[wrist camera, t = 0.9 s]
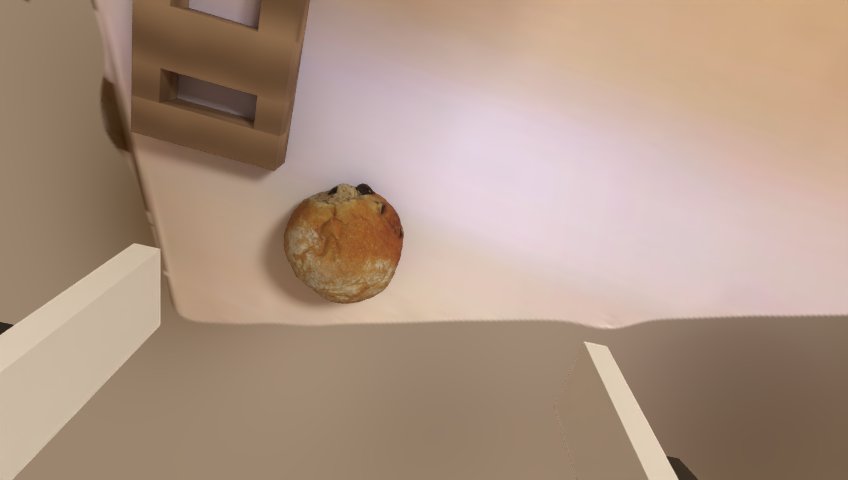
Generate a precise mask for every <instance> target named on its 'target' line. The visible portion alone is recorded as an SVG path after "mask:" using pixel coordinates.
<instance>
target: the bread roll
mask: <svg viewBox="0 0 848 480" xmlns="http://www.w3.org/2000/svg"><path fill="white" fill-rule="evenodd" d="M287 225H288V226H287V228H286V231H285V235H284V248H285V253H286V255H287V259H288V261H289V262H290V263H291V266H292V268H293V270H294V272H295V274H296V276H297V277H298V278H300V279H301V280H302V281H304V282H305V283H306V284H307V285H308V286H309V287H310V288H312V289H313V290H314V291H316V292H317V293H318V294H319V295H321V296H322V297H323V298H325V299H328V300H330V301H333V302H337V303H342V304H343V303H346V304H348V303H355V302H360V301H363V300H365V299H369V298H372V297H374V296H375V295H377V294H379V293H380V292H382V291H383V290H384V289H385V288H386V287H387V286H388V284H389V283H390V281H391V279H392V277H393V275H394V273H395V270H396V268H397V265H398V262H399V260H400V256H401V250H402V244H403V237H404V234H403V228H402V226H401V223H400V219H399V216H398V214H397V212H396V211H395V210H394V208H393V207H392V206H391V205H390V204H389V203H388V202H387V201H386V200H385V199H384V198H383V197H381V196H380V195H378V194H376V193H375V192H373V190H372V189H371V188H370V187H369V186H368V185H367V184H360V185H358V186H357V187H353V186H349V185H348V184H342V185H341V184H340V185H338V186H336V187H335V188H333V189H332V190H331V191H328V192H321V193H318V194H316V195H313V196H311V197H310V198H308V199H305V200H304V201H303V202H302V203H301V204H300V206H299V207H298V208H297V209H296V210H295V211H294V213H293V215H292V217H291V219H290V220H289V222H288V224H287Z"/></svg>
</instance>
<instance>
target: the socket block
mask: <svg viewBox="0 0 848 480" xmlns="http://www.w3.org/2000/svg"><path fill="white" fill-rule="evenodd" d="M309 1H310V0H261V8H260V17H259V26H258V28H254V27H251V26H248V25H244V24H241V23H237V22H234V21H231V20H227V19H224V18H221V17H217V16H214V15H211V14H207V13H204V12H200V11H197V10H194V9H190V8H188V7H189V0H133V23H132V108H131V132H135V133H138V134H142V135H146V136H149V137H153V138H157V139H160V140H164V141H168V142H171V143H175V144H179V145H182V146H186V147H190V148H193V149H197V150H201V151H204V152H208V153H212V154H215V155H219V156H223V157H226V158H230V159H234V160H237V161H241V162H245V163H248V164H252V165H256V166H259V167H263V168H267V169H270V170H274V171H275V170H276V169H277V168H278V167H280V166H281V165H282V164H283V163H284V162H285V156H286V150H287V143H288V137H289V131H290V124H291V118H292V111H293V105H294V98H295V92H296V85H297V79H298V72H299V66H300V59H301V53H302V47H303V40H304V34H305V27H306V21H307V14H308V8H309ZM178 73H179V74H183V75H186V76H190V77H193V78H197V79H200V80H204V81H207V82H211V83H214V84H218V85H221V86H225V87H228V88H232V89H235V90H239V91H242V92H246V93H249V94H253V95H256V96H257V103H256V112H255V120H252V119H248V118H245V117H241V116H238V115H234V114H230V113H227V112H223V111H220V110H216V109H213V108H209V107H206V106H202V105H198V104H195V103H191V102H188V101H184V100H181V99H177V85H178Z"/></svg>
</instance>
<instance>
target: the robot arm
mask: <svg viewBox="0 0 848 480" xmlns="http://www.w3.org/2000/svg"><path fill="white" fill-rule="evenodd" d="M159 326H160V249H158V248H154V247H149V246H145V245H140V244H135V243H134V244H132V245H131V246H129V247H128V248H126V249H125V250H123V251H122V252H121V253H119V254H118V255H116V256H115V257H113V258H112V259H110V260H109V261H107V262H106V263H104V264H103V265H101V266H100V267H99V268H97V269H96V270H94V271H93V272H92V273H90V274H88V275H87V276H85V277H84V278H83V279H81V280H80V281H78V282H77V283H75V284H74V285H72V286H71V287H69V288H68V289H67V290H65V291H64V292H62V293H61V294H60V295H58V296H56V297H55V298H54V299H52V300H51V301H49V302H48V303H46V304H45V305H43V306H42V307H40V308H39V309H37V310H36V311H34V312H33V313H32V314H30V315H29V316H27V317H26V318H24V319H23V320H21V321H20V322H18V323H17V324H16V325H12V324H7V323H2V322H0V480H12V479H14V477H15V476H16V475H17V474H18V473H19V472H20V471H21V470H22V469H23V468H24V467H25V466H26V465H27V464H28V463H29V462H30V461H31V460H32V459H33V458H34V457H35V456H36V455H37V453H38V452H39V451H40V450H41V449H42V448H43V447H44V446H45V445H46V444H47V443H48V442H49V441H50V440H51V439H52V438H53V436H55V435H56V434H57V433H58V432H59V430H60V429H61V428H62V427H63V426H64V425H65V424H66V423H67V422H68V421H69V420H70V419H71V418H72V417H73V416H74V415H75V414H76V413H77V412H78V411H79V410H80V408H81V407H82V406H83V405H84V404H85V403H86V402H87V401H88V400H89V399H90V398H91V397H92V396H93V395H94V394H95V393H96V392H97V391H98V390H99V389H100V388H101V387H102V386H103V384H104V383H105V382H106V381H107V380H108V379H109V378H110V377H111V376H112V375H113V374H114V373H115V372H116V371H117V370H118V369H119V368H120V367H121V365H122V364H123V363H124V362H125V361H126V360H127V359H128V358H129V357H130V356H131V355H132V354H133V353H134V352H135V351H136V350H137V349H138V348H139V347H140V346H141V345H142V344H143V343H144V342H145V340H146V339H147V338H148V337H149V336H150V335H151V334H152V333H153V332H154V331H155V330H156V329H157V328H158V327H159ZM554 409H555V412H556V416H557V419H558V422H559V425H560V429H561V432H562V435H563V438H564V442H565V445H566V448H567V451H568V455H569V458H570V461H571V465H572V468H573V471H574V474H575V478H576V480H697V478H696V477H695V476H694V475H693V474H692V472H691V471H690V470H689V469H688V468H687V467H686V466H685V465H684V464H683V463H682V462H681V461H680V459H678V458H673V457H668V456H666V455H665V454H664V452H663V450H662V448H661V446H660V444H659V443H658V441H657V439H656V437H655V435H654V433H653V431H652V429H651V428H650V426H649V424H648V422H647V420H646V418H645V416H644V415H643V413H642V411H641V409H640V407H639V405H638V403H637V401H636V400H635V398H634V396H633V394H632V392H631V390H630V388H629V387H628V385H627V383H626V381H625V379H624V377H623V375H622V373H621V372H620V370H619V368H618V366H617V364H616V362H615V361H614V359H613V357H612V355H611V353H610V351H609V349H608V347H607V346H603V345H598V344H594V343H589V342H583V344H582V347H581V349H580V351H579V353H578V355H577V357H576V359H575V362H574V364H573V366H572V368H571V370H570V372H569V374H568V377H567V379H566V381H565V383H564V385H563V387H562V390H561V392H560V394H559V396H558V398H557V400H556V402H555V405H554Z"/></svg>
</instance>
